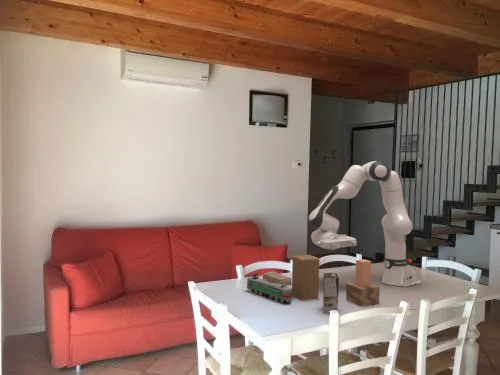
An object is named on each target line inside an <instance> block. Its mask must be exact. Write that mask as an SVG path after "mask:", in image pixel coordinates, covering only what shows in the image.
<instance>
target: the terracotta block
mask: <svg viewBox="0 0 500 375" xmlns="http://www.w3.org/2000/svg"><path fill="white" fill-rule="evenodd" d="M371 275H372V261H371V260H368V259H356V260H355V281H354V283H355V284H356V285H358V286H361V287H367V286H370V284H371V280H372V278H371V277H372V276H371Z"/></svg>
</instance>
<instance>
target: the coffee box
mask: <svg viewBox="0 0 500 375" xmlns="http://www.w3.org/2000/svg"><path fill="white" fill-rule="evenodd" d="M339 280H340V279H339V274H338V273H336V272H323V290H322V292H323V293H322V309H323V313H324V314H325V313H326V314H330V313H329V311H331V310H337V311H338V312H339Z"/></svg>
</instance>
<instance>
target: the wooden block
mask: <svg viewBox="0 0 500 375" xmlns="http://www.w3.org/2000/svg"><path fill="white" fill-rule="evenodd" d="M291 265H292V270H291V272H292V274H291V275H292V278H291V281H292V282H291V288H292V289H293V290H292V296H293V297H295V298H297V299H299V300H300V301H304V300H305V301H306V300H312V299H313V300H314V299H319V285H320V284H319V283H320V258H319V257H317V256H314V255H311V254H301V255H297V254H296V255H293V256H292V264H291Z"/></svg>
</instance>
